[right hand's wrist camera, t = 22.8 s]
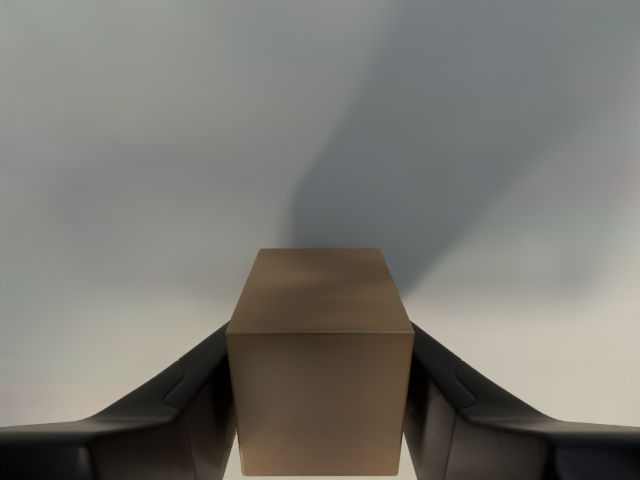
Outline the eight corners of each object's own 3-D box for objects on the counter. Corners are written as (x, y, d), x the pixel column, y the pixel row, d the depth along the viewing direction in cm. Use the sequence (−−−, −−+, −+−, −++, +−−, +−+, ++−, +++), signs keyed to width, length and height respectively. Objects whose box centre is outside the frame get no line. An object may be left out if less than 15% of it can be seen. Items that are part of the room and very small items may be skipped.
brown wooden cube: (380, 247, 12) (416, 331, 8) (372, 356, 14) (398, 477, 9) (259, 247, 12) (223, 331, 8) (266, 356, 14) (241, 478, 9)
